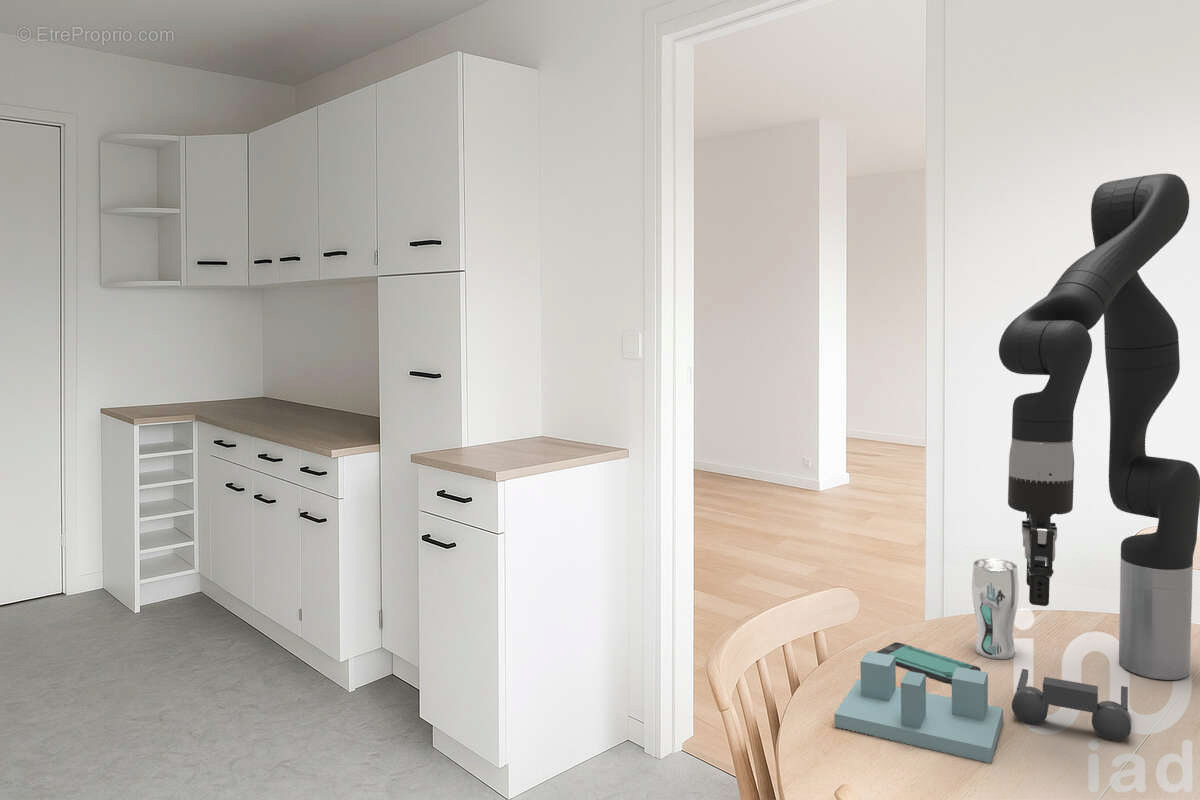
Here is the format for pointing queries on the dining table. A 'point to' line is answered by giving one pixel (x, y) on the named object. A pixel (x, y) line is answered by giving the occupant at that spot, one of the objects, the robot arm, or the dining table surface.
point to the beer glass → (995, 606)
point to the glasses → (1072, 705)
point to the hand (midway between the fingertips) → (1037, 594)
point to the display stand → (922, 710)
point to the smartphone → (925, 662)
